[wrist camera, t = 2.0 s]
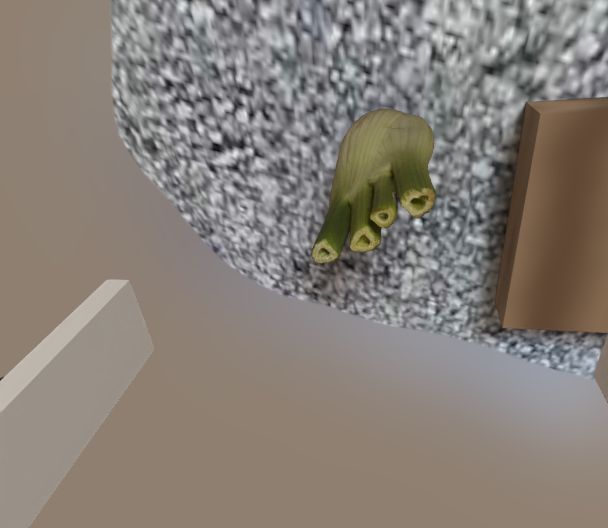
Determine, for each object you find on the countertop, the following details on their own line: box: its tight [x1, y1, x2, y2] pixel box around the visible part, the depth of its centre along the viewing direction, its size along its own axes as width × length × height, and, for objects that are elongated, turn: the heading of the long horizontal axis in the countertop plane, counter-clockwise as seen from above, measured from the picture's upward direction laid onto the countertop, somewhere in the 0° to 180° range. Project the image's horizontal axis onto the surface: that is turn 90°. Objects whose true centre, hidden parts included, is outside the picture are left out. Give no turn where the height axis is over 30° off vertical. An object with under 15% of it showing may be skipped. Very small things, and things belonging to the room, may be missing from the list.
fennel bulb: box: [311, 109, 437, 263], centre depth 22 cm, size 6×5×12 cm
